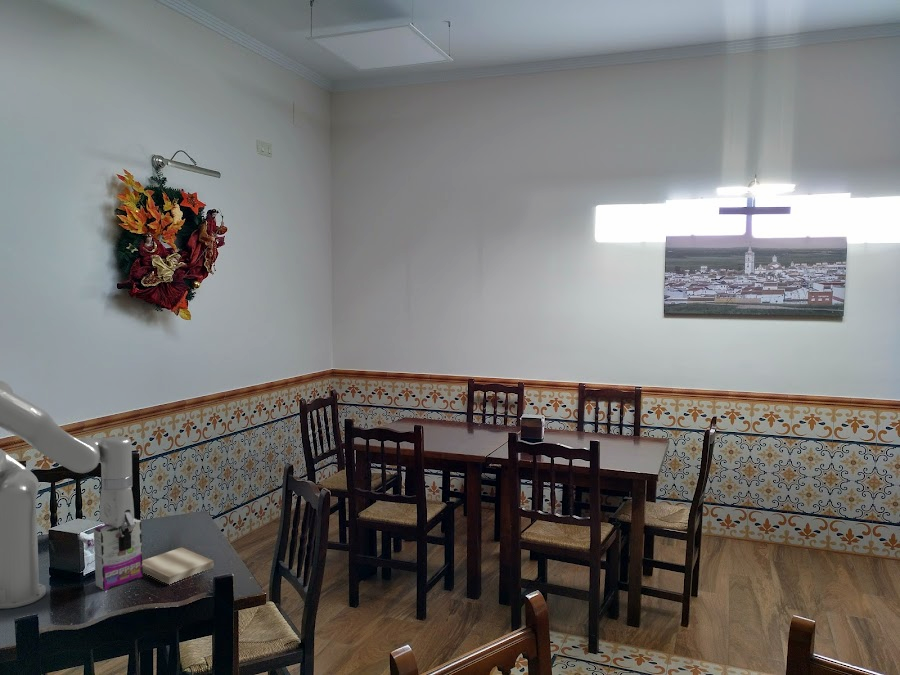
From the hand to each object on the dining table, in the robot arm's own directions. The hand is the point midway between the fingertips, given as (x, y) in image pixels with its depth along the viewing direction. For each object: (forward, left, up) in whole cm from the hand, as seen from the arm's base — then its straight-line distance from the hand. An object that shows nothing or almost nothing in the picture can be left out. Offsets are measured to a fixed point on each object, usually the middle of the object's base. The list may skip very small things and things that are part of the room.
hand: (118, 546), depth 187 cm
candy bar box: (0, 0, -10) cm, 10 cm away
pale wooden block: (+14, -5, -11) cm, 18 cm away
